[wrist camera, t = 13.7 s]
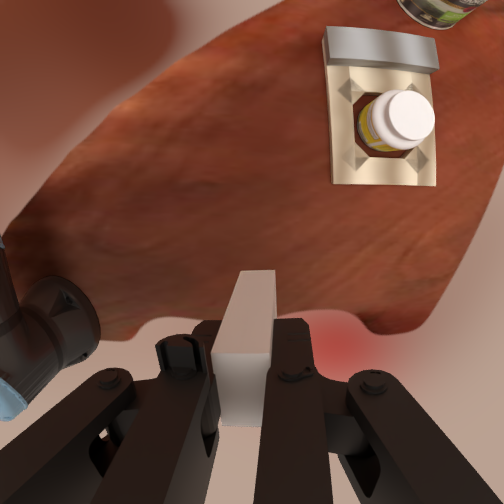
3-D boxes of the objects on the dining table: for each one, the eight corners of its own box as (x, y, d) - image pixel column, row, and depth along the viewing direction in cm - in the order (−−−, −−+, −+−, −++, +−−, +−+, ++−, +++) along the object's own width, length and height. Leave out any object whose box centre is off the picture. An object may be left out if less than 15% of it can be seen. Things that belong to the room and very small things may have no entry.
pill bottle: (411, 124, 34) (453, 114, 23) (385, 162, 36) (421, 163, 25) (373, 92, 34) (403, 69, 23) (345, 130, 35) (368, 118, 25)
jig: (331, 183, 37) (337, 185, 32) (321, 41, 32) (326, 26, 28) (429, 184, 36) (446, 188, 31) (419, 50, 31) (434, 38, 26)
